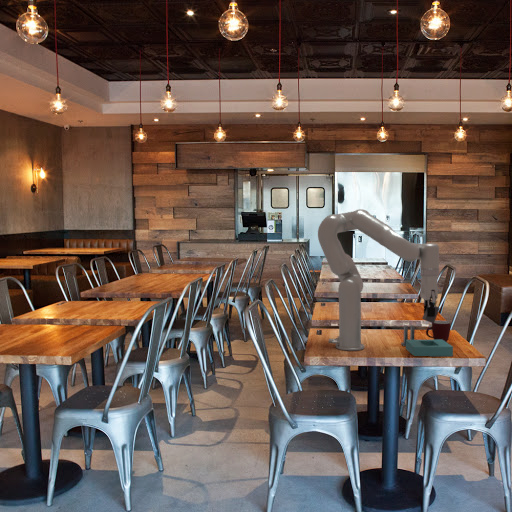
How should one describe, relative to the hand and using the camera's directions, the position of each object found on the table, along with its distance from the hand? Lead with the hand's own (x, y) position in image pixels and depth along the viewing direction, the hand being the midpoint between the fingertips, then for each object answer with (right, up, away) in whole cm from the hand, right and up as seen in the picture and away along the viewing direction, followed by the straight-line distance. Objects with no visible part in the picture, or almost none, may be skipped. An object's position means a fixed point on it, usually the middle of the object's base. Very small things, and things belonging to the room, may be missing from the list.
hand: (429, 315), depth 246 cm
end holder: (0, -16, +1) cm, 16 cm away
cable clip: (-5, -15, +14) cm, 21 cm away
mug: (+9, -15, +17) cm, 25 cm away
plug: (-1, -2, 0) cm, 3 cm away
